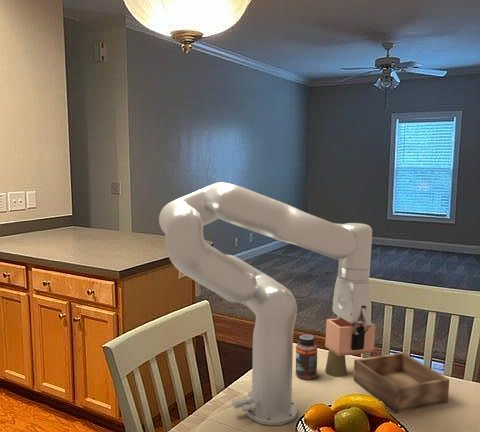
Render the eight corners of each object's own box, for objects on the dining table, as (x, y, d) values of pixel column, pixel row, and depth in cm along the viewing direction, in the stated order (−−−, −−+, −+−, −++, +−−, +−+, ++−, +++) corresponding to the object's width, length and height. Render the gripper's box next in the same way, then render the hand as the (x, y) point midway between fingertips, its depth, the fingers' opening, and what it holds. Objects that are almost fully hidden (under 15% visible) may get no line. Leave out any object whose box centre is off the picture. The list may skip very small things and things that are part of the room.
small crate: (338, 356, 117) (340, 328, 116) (325, 346, 123) (326, 319, 122) (373, 352, 120) (375, 324, 119) (359, 342, 126) (360, 316, 125)
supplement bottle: (320, 374, 138) (321, 335, 136) (311, 382, 133) (312, 342, 131) (301, 369, 141) (301, 331, 139) (291, 376, 136) (292, 337, 134)
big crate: (394, 413, 117) (395, 389, 116) (353, 380, 134) (354, 359, 133) (447, 402, 122) (449, 379, 122) (401, 372, 139) (402, 352, 138)
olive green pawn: (346, 378, 135) (348, 340, 134) (324, 376, 136) (326, 338, 135) (346, 368, 141) (347, 332, 140) (325, 366, 142) (326, 330, 141)
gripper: (322, 266, 126) (319, 333, 128) (360, 283, 110) (355, 359, 112) (347, 265, 128) (344, 330, 130) (388, 281, 112) (383, 355, 114)
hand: (349, 343), depth 121 cm, fingers closed on small crate, 6 cm apart
